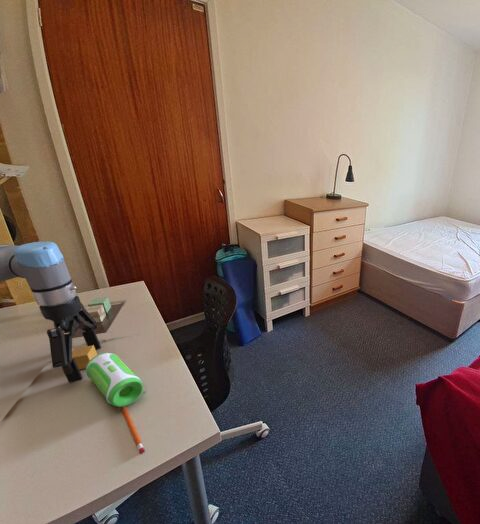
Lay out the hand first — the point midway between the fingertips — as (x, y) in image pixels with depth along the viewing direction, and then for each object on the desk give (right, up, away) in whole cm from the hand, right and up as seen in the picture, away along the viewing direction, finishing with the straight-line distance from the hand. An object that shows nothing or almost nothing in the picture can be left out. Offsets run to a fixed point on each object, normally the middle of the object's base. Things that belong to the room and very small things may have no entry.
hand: (86, 363), depth 82 cm
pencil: (+26, -9, -17) cm, 32 cm away
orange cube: (0, 0, 0) cm, 0 cm away
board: (-14, +8, +19) cm, 25 cm away
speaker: (+16, -4, -8) cm, 18 cm away
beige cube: (-14, +9, +18) cm, 25 cm away
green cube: (-16, +11, +23) cm, 31 cm away
